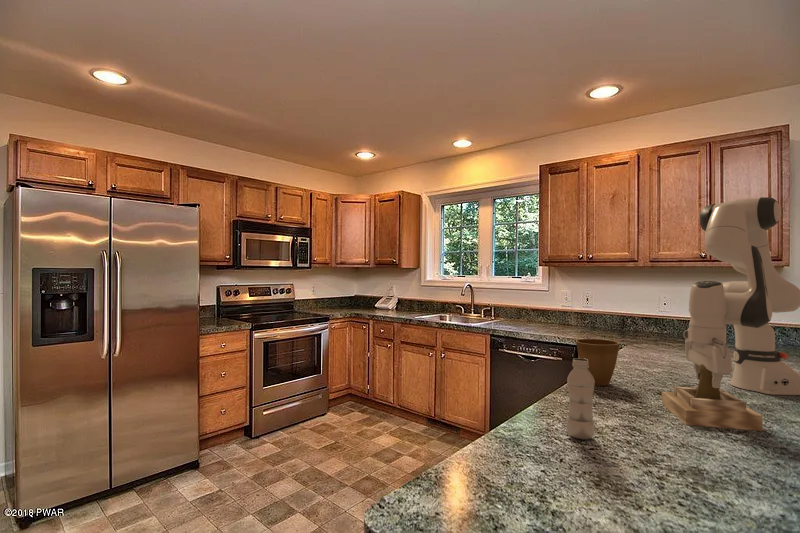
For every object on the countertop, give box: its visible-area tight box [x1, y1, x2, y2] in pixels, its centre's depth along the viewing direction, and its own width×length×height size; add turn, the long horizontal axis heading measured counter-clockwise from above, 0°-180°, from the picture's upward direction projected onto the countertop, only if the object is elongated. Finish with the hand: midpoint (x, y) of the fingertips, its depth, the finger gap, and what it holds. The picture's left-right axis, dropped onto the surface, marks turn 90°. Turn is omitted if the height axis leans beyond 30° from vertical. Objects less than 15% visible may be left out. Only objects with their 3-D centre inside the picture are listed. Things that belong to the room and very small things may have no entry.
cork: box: [695, 364, 721, 400], centre depth 120 cm, size 6×6×11 cm
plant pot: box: [575, 338, 620, 387], centre depth 156 cm, size 15×15×16 cm
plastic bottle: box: [566, 357, 596, 440], centre depth 106 cm, size 6×7×20 cm
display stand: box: [661, 386, 764, 432], centre depth 121 cm, size 18×18×6 cm
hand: (707, 383), depth 121 cm, fingers open, 8 cm apart
